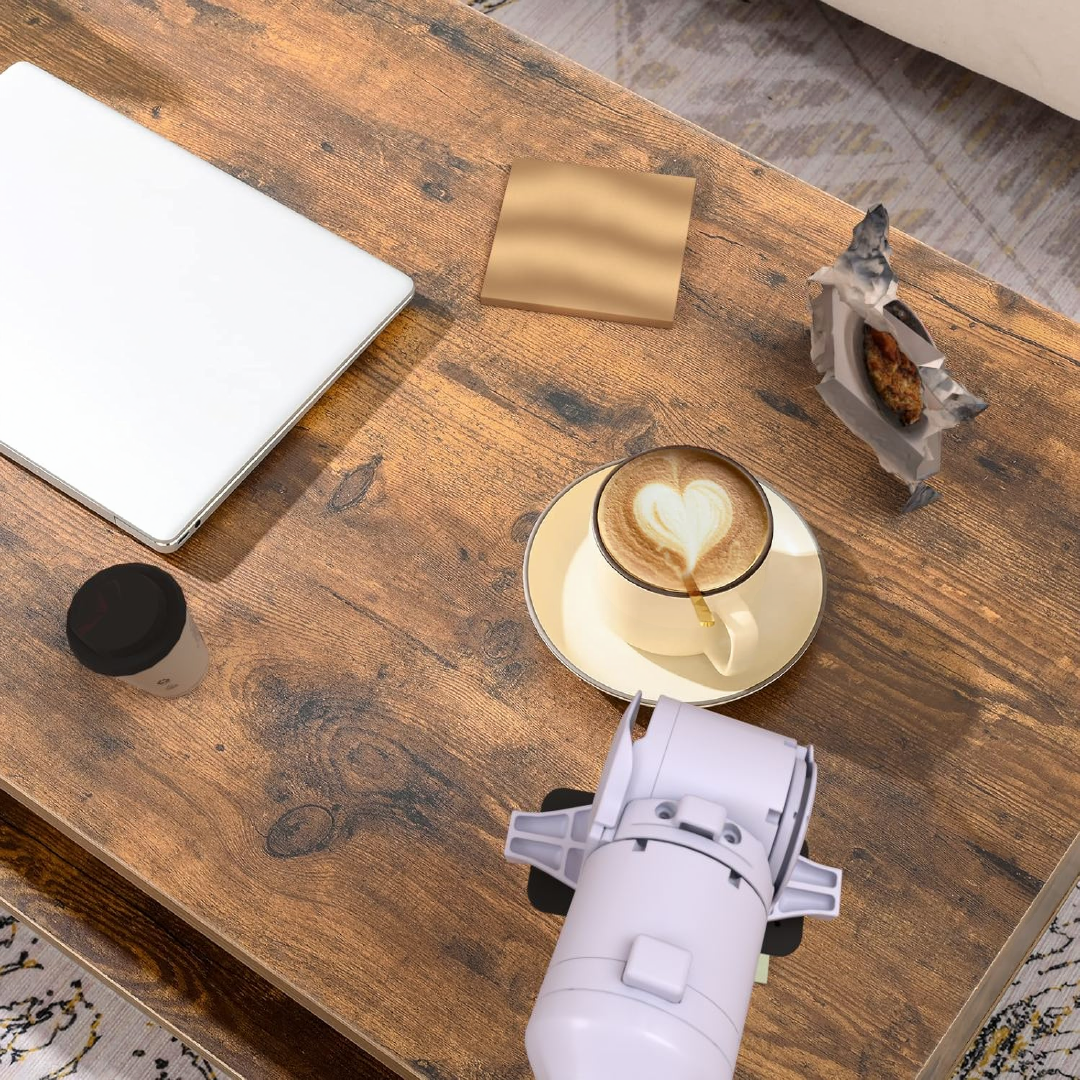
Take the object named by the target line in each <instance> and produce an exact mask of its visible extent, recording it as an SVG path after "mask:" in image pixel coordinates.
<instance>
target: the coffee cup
mask: <svg viewBox="0 0 1080 1080" xmlns="http://www.w3.org/2000/svg"><path fill="white" fill-rule="evenodd" d="M187 605H188V603H187V601H186V597H185V594H184V590H183V588H182V586H181V585H180V583H178V581H177V580H176V579H175V578H174V576H173V575H172V574H171V573H169V572H167V571H166V570H164V569H162V568H160V567H159V566H157V565H154V564H149V563H144V562H139V561H137V562H136V561H135V562H125V563H116V564H113V565H111V566H108V567H106V568H103V569H101V570H99V571H97V572H96V573H95V574H93V575H92V576H90V577H89V578H88V579H87V580H85V581H84V583H83V584H82V585H81V586H80V588H79V589H77V591H76V592H75V594H74V595H73V597H72V600H71V602H70V605H69V607H68V609H67V612H66V623H65V635H66V639H67V643H68V646H69V650H70V651H71V654H73V656H74V657H75V659H76V660H77V661H78V662H79V664H80V665H82V666H83V667H85V668H87V669H88V670H90V671H91V672H92V673H94V674H98V675H102V676H107V677H111V678H115V679H117V680H120V681H122V682H124V683H127V684H128V685H131V686H133V687H135V688H138V689H141V690H143V691H145V692H147V693H150V694H151V695H154V696H157V697H162V698H166V699H172V698H179V697H182V696H184V695H187V694H190V693H191V692H192V691H194V690H195V689H196V688H197V687H198V686H200V684H202V682H203V680H204V679H205V678H206V676H207V674H208V670H209V668H210V662H211V661H210V657H211V653H210V651H209V648H208V645H207V643H206V640H205V639H204V637H203V635H202V633H201V631H200V629H199V627H198V625H197V622H195V620H194V617H193V616H192V613H191V612H190V610H189V607H188V606H187Z"/></svg>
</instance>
